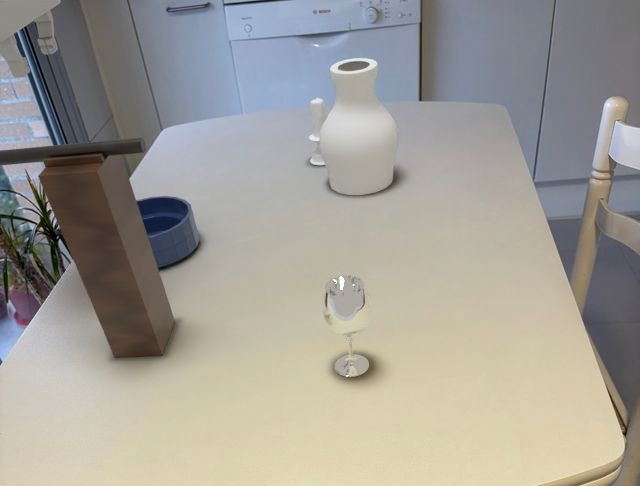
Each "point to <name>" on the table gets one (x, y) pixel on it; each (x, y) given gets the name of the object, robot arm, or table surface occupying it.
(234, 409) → the table surface
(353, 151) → the vase
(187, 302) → the table surface
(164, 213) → the bowl
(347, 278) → the wineglass
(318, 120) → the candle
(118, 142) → the chopstick
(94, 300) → the stand
